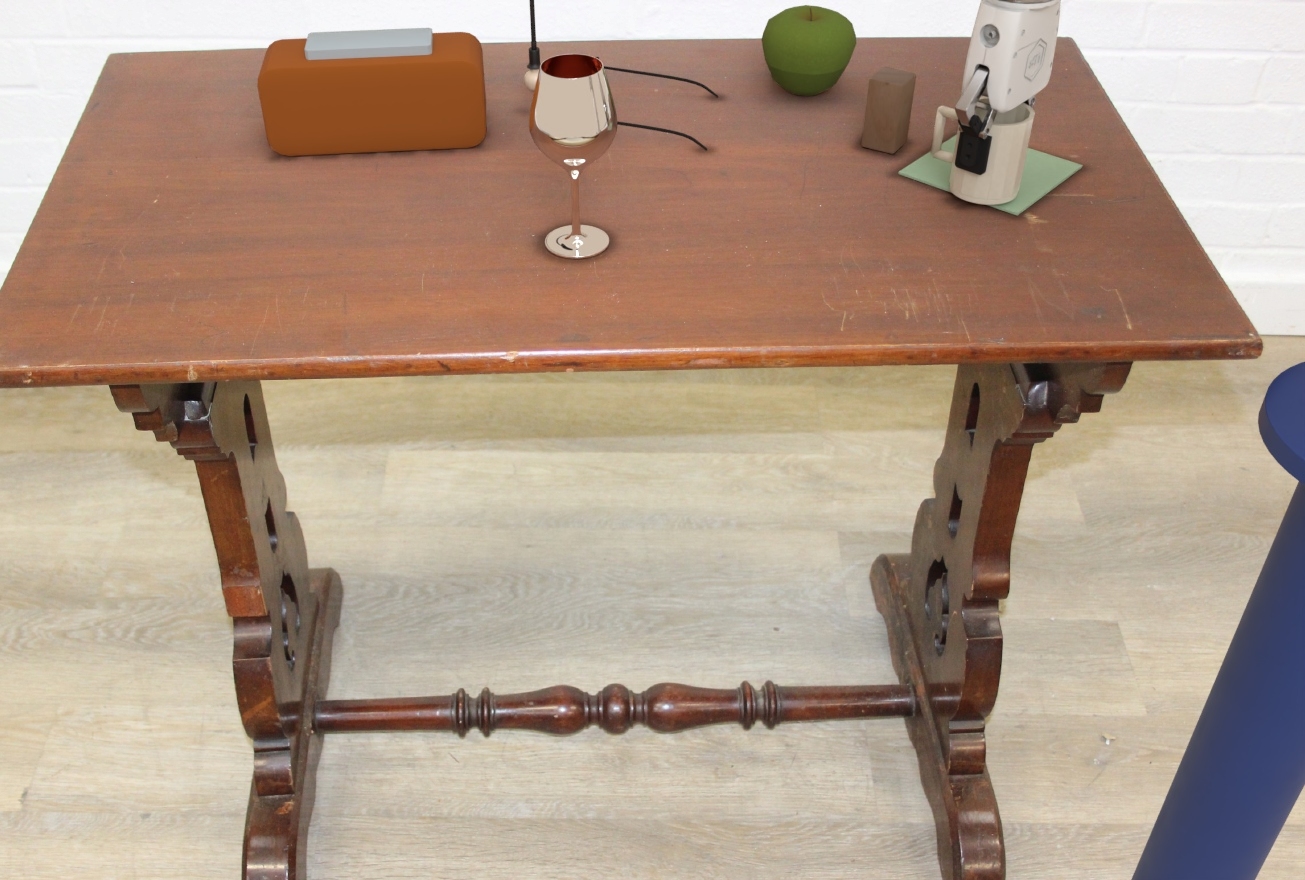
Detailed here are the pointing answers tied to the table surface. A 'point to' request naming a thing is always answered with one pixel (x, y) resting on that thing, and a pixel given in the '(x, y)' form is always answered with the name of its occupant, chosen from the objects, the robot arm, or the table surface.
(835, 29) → the apple
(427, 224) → the table surface
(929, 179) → the mat
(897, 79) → the wooden block
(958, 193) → the mug
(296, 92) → the alarm clock
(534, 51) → the light fixture
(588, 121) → the wineglass
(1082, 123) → the table surface
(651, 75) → the glasses
